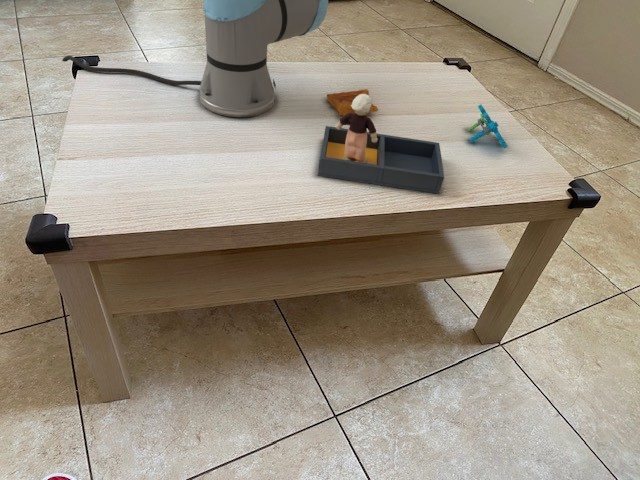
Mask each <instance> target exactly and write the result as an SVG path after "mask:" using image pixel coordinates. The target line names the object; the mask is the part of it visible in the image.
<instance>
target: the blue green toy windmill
mask: <svg viewBox="0 0 640 480" xmlns="http://www.w3.org/2000/svg"><path fill="white" fill-rule="evenodd" d="M477 108H478V110H479V112H480V114H479V116H480V117H479V118H478V119H477V122H476V123H474V124H473V125H471V126H469V127H468V130H469V132H471V131H473V130H475V129H476V128H478V127H479V126H480V128H481V129H482V130H480V131H478V132H477V133H475V134H474V135H472V136H471V137H469V138H468V139H469V141H470V142H471V143H474V142H475V141H477V140H478V139H480V138H482V137H483V136H485V135H486V136H488V135H489V134H491V133H493V134H494V135H495V137H496V139H497V140H498V142H499V143H500V145H501V146H502V148H503V149H504V150H505V149H507V148H508V144H507V143H506V141H505V139H504V138H503V136H502V135H501V133H500V131H499V128H498V127H499V126H500V125H499V124H498V122H497V121H494V120H492V118H491V116H490V115H489V114H488V112H487V111H486V109H485V107H484V106H483V105H482V104H479V105H478V106H477Z"/></svg>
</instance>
